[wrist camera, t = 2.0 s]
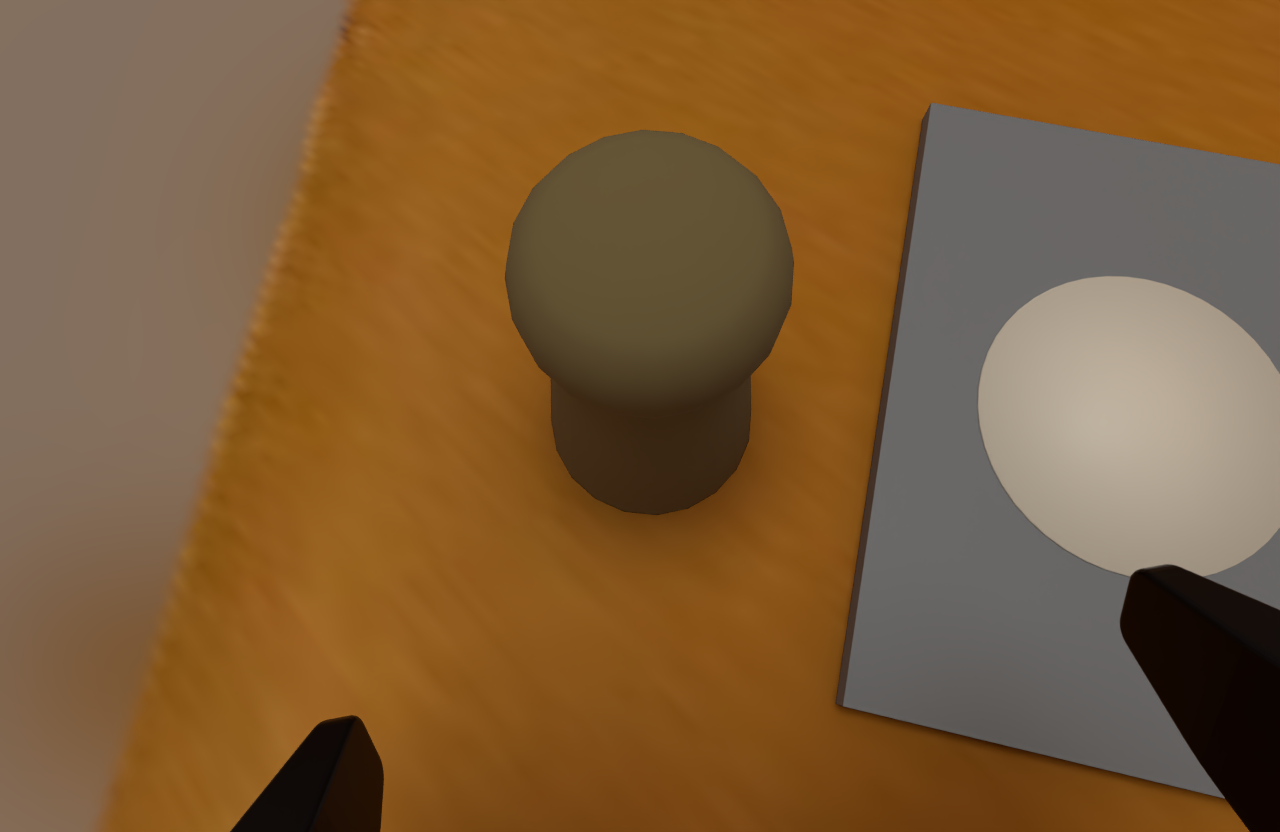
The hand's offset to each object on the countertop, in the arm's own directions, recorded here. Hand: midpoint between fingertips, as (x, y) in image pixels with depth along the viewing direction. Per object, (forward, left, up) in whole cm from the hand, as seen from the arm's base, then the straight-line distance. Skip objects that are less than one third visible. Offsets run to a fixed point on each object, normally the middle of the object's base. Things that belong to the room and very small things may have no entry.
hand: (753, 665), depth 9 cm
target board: (+11, -9, -13) cm, 19 cm away
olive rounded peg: (+6, +4, -13) cm, 14 cm away
